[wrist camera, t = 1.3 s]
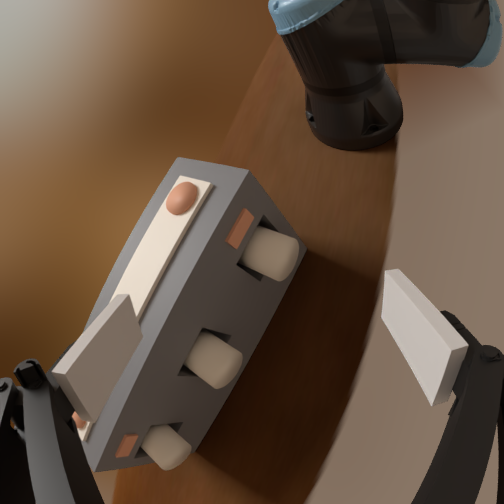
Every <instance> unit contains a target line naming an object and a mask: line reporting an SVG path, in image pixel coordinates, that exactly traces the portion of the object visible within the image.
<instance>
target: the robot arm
mask: <svg viewBox="0 0 504 504" xmlns="http://www.w3.org/2000/svg"><path fill="white" fill-rule="evenodd" d="M268 7H269V11H270V14H271V15H272V18H273V20H274V22H275V24H276V26H277V27H276V29H277V32H278V33H279V34H280V35H281V37H282V39H283V41H284V43H285V45H286V47H287V49H288V51H289V53H290V55H291V57H292V59H293V61H294V63H295V65H296V67H297V69H298V72H299V74H300V76H301V78H302V80H303V82H304V85H305V101H306V118H307V121H308V123H309V126H310V128H311V130H312V132H313V134H314V135H315V136H316V137H317V138H318V139H319V140H320V141H322V142H323V143H325V144H327V145H329V146H331V147H335V148H338V149H344V150H362V149H368V148H372V147H375V146H378V145H380V144H382V143H384V142H386V141H388V140H389V139H391V138H392V137H393V136H394V135H395V134H396V133H397V132H398V130H399V129H400V127H401V125H402V122H403V108H402V102H401V99H400V96H399V94H398V92H397V91H396V89H395V87H394V85H393V84H392V82H391V80H390V78H389V77H388V75H387V73H386V72H385V68H384V64H431V65H432V64H433V65H447V66H455V67H458V68H461V67H463V68H464V67H485V66H488V65H490V64H491V63H492V62H493V61H494V60H495V59H496V57H497V55H498V53H499V50H500V46H501V41H502V24H501V23H500V21H499V18H500V16H501V15H500V10H499V7H498V4H497V2H496V0H270V1H269V6H268ZM381 318H382V320H383V322H384V323H385V325H386V326H387V328H388V330H389V331H390V333H391V335H392V336H393V338H394V340H395V341H396V343H397V345H398V347H399V348H400V350H401V352H402V353H403V355H404V357H405V359H406V360H407V362H408V364H409V366H410V367H411V369H412V371H413V373H414V375H415V376H416V378H417V380H418V382H419V384H420V386H421V387H422V389H423V391H424V393H425V395H426V397H427V399H428V401H429V402H430V404H431V406H434V405H437V404H440V403H443V402H446V401H448V399H449V396H450V394H451V392H452V390H453V392H454V393H455V395H456V399H455V401H454V404H453V405H452V408H451V410H450V412H449V414H448V415H450V416H449V420H448V422H447V425H446V428H445V430H444V433H443V436H442V439H441V441H440V444H439V446H438V449H437V451H436V453H435V456H434V458H433V460H432V463H431V465H430V467H429V469H428V472H427V474H426V476H425V478H424V480H423V482H422V484H421V486H420V488H419V490H418V492H417V494H416V496H415V498H414V499H413V501H412V503H411V504H475V501H476V499H477V496H478V493H479V490H480V487H481V484H482V481H483V477H484V475H485V471H486V468H487V464H488V460H489V457H490V452H491V449H492V444H493V440H494V435H495V430H496V425H497V427H498V446H499V448H498V450H499V469H498V470H499V471H498V491H497V503H496V504H504V355H503V354H502V352H501V351H500V350H499V349H497V348H496V347H493V346H490V345H483V346H482V345H481V344H480V343H479V342H478V341H477V339H476V338H475V337H474V336H473V335H472V334H471V333H470V332H469V331H468V330H467V329H466V328H465V326H464V325H463V324H462V323H461V322H460V321H459V320H458V319H457V318H456V317H455V315H453V314H451V313H449V312H447V311H440V312H439V311H438V309H437V308H436V307H435V306H434V305H433V304H432V303H431V302H430V301H429V300H428V299H427V298H426V297H425V296H424V295H423V293H422V292H421V291H420V290H419V289H418V288H417V287H416V286H415V285H414V284H413V283H412V282H411V281H410V280H409V279H408V278H407V277H406V276H405V275H404V274H403V273H402V272H401V271H400V270H399V269H394V270H385V278H384V292H383V304H382V314H381ZM142 338H143V335H142V332H141V329H140V326H139V323H138V320H137V317H136V314H135V311H134V308H133V304H132V301H131V298H130V295H129V294H117V295H116V296H115V298H114V299H113V300H112V301H111V302H110V303H109V304H108V305H107V306H106V308H105V309H104V310H103V311H102V312H101V313H100V314H99V315H98V317H97V318H96V319H95V320H94V321H93V322H92V323H91V325H90V326H89V327H88V328H87V329H86V330H85V332H84V333H83V334H82V335H81V336H80V337H79V339H78V340H77V341H75V342H74V343H72V344H71V345H69V346H68V347H67V349H66V350H65V351H64V354H62V355H61V356H60V357H59V359H57V361H56V362H55V363H54V364H53V366H52V367H51V368H50V369H49V371H48V372H47V373H46V374H45V373H44V371H43V369H42V368H41V366H40V364H39V362H38V361H37V360H36V359H27V360H25V361H23V362H21V363H20V364H18V365H17V367H16V368H15V370H14V374H15V376H16V377H17V379H18V381H19V382H20V384H21V386H15V384H14V383H13V381H12V380H11V379H10V378H2V379H0V504H104V501H103V499H102V497H101V494H100V492H99V490H98V487H97V485H96V482H95V480H94V477H93V475H92V472H91V470H90V467H89V464H88V461H87V458H86V455H85V452H84V449H83V446H82V443H81V440H80V436H79V433H78V429H77V426H76V422H75V420H74V419H73V417H72V415H73V413H74V412H76V413H77V414H78V416H79V417H80V419H81V420H83V421H87V422H92V423H95V422H96V420H97V419H98V417H99V415H100V413H101V411H102V409H103V407H104V405H105V404H106V402H107V400H108V398H109V396H110V394H111V393H112V391H113V389H114V387H115V385H116V384H117V382H118V380H119V378H120V376H121V375H122V373H123V371H124V369H125V367H126V366H127V364H128V362H129V360H130V359H131V357H132V355H133V354H134V352H135V350H136V348H137V347H138V345H139V343H140V341H141V340H142ZM10 420H11V421H12V422H13V423H14V424H15V427H14V429H13V428H12V427H11V425H10Z"/></svg>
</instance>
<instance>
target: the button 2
mask: <svg viewBox="0 0 504 504" xmlns="http://www.w3.org/2000/svg"><path fill="white" fill-rule="evenodd" d="M298 254H299V244H298V241H297V240H296V239H295V238H292V237H289V236H287V235H284V234H281V233H278V232H275V231H273V230H270V229H267V228H264V227H261V226H258V225H257V227H256V229H255V231H254V233H253V235H252V236H251V238H250V240H249V242H248V244H247V246H246V247H245V249H244V251H243V253H242V255H241V257H240V259H239V260H238V262H237V263H239V264H242V265H244V266H246V267H248V268H250V269H252V270H255V271H257V272H259V273H261V274H263V275H266V276H268V277H270V278H272V279H274V280H276V281H283V280H284V279H286V278H287V277H288V276H289V274H290V273H291V272H292V270H293V268H294V266H295V264H296V261H297V258H298Z"/></svg>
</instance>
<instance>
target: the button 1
mask: <svg viewBox="0 0 504 504" xmlns="http://www.w3.org/2000/svg"><path fill="white" fill-rule="evenodd" d="M140 446H141V448H142V449H143V450H144V451H145V452H146V453H147V454H148V455H149V456H150V457H151V458H152V459H153V460H154V461H155V462H156V463H157V464H158V465H159V466H160V467H161V468H162V469H163V470H171V469H173V468H175V467H177V466H178V465H180V464H181V463H182V462H183V461H184V460H185V459H186V458H187V457H188V455H189V454H190V452H191V449H192V447H191V445H190V444H189V443H188V442H186V441H185V440H184V439H183V438H182V437H181V436H180V435H179V434H177V433H176V432H175V431H174V430H173V429H172V428H171V427H170V426H169V425H168V424H160V425H151V426H150V428H149V430H148V432H147V434H146V435H145V437H144V439H143V441H142V443H141V445H140Z"/></svg>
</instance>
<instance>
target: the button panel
mask: <svg viewBox="0 0 504 504" xmlns="http://www.w3.org/2000/svg"><path fill="white" fill-rule="evenodd" d="M257 225H258V226H261V227H264V228H267V229H270V230H273V231H275V232H278V233H281V234H284V235H287V236H289V237H292V238H295V239H296V240H297V241H298V244H299V254H298V258H297V261H296V264H295V266H294V268H293V270H292V272H291V273H290V274H289V276H288V277H287V278H286V279H284V280H283V281H276V280H274V279H272V278H270V277H268V276H266V275H263V274H261V273H259V272H257V271H255V270H252V269H250V268H248V267H246V266H244V265H242V264H239V263H237V262H238V260H239V259H240V257H241V255H242V253H243V251H244V249H245V247H246V246H247V244H248V242H249V240H250V238H251V236H252V235H253V233H254V231H255V229H256V227H257ZM306 250H307V248H306V246H305V245H304V243H303V242H302V241H301V239H300V238H299V236H298V235H297V234H296V232H295V231H294V230H293V228H292V227H291V225H290V224H289V223H288V221H287V220H286V219H285V217H284V216H283V214H282V213H281V212H280V210H279V209H278V208H277V206H276V205H275V204H274V202H273V201H272V200H271V198H270V197H269V196H268V194H267V193H266V192H265V190H264V189H263V188H262V186H261V185H260V184H259V182H258V181H257V180H256V178H255V177H254V176H253V175H252V173H251V172H250V171H249V170H246V169H241V168H236V167H231V166H226V165H220V164H215V163H210V162H204V161H198V160H192V159H186V158H180V157H178V158H177V159H176V161H175V162H174V164H173V165H172V167H171V168H170V170H169V171H168V173H167V174H166V176H165V177H164V179H163V181H162V182H161V184H160V185H159V187H158V189H157V190H156V192H155V193H154V195H153V197H152V198H151V200H150V202H149V203H148V205H147V207H146V208H145V210H144V212H143V214H142V215H141V217H140V219H139V220H138V222H137V224H136V226H135V227H134V229H133V231H132V233H131V235H130V237H129V238H128V240H127V242H126V244H125V246H124V247H123V249H122V251H121V253H120V255H119V257H118V259H117V261H116V263H115V265H114V267H113V269H112V271H111V273H110V275H109V277H108V279H107V281H106V283H105V285H104V287H103V289H102V291H101V293H100V295H99V298H98V299H97V302H96V304H95V306H94V308H93V311H92V313H91V315H90V317H89V319H88V322H87V324H86V326H85V329H84V331H83V333H84V332H85V330H86V329H87V328H88V327H89V326H90V325H91V323H92V322H93V321H94V320H95V319H96V318H97V317H98V315H99V314H100V313H101V312H102V311H103V310H104V309H105V308H106V306H107V305H108V304H109V303H110V302H111V301H112V300H113V299H114V298H115V296H116V295H117V294H129V295H130V298H131V301H132V304H133V308H134V311H135V314H136V317H137V320H138V323H139V326H140V329H141V332H142V335H143V338H142V340H141V341H140V343H139V345H138V347H137V348H136V350H135V352H134V354H133V355H132V357H131V359H130V360H129V362H128V364H127V366H126V367H125V369H124V371H123V373H122V375H121V376H120V378H119V380H118V382H117V384H116V385H115V387H114V389H113V391H112V393H111V394H110V396H109V398H108V400H107V402H106V404H105V405H104V407H103V409H102V411H101V413H100V415H99V417H98V419H97V420H96V422H95V423H92V422H87V421H83V420H81V419H80V417H79V416H78V414H77V413H76V412H74V413H73V415H72V417H73V419H74V420H75V422H76V426H77V429H78V433H79V436H80V440H81V443H82V446H83V449H84V452H85V455H86V458H87V461H88V464H89V466H90V467H91V468H92V470H93V471H94V472H101V471H108V470H115V469H122V468H128V467H133V466H139V465H144V464H149V463H154V462H155V461H154V460H153V459H152V458H151V457H150V456H149V455H148V454H147V453H146V452H145V451H144V450H143V449H142V448H141V446H140V445H141V443H142V441H143V439H144V437H145V435H146V434H147V432H148V430H149V428H150V426H151V425H160V424H168V425H169V426H170V427H171V428H172V429H173V430H174V431H175V432H176V433H177V434H179V435H180V436H181V437H182V438H183V439H184V440H185V441H186V442H188V443H189V444H190V445H191V447H192V449H191V452H190V453H194V452H195V451H196V449H197V447H198V446H199V444H200V443H201V441H202V439H203V438H204V436H205V435H206V433H207V431H208V430H209V428H210V426H211V425H212V423H213V421H214V420H215V418H216V416H217V415H218V413H219V411H220V410H221V408H222V406H223V404H224V403H225V401H226V399H227V398H228V396H229V394H230V393H231V391H232V389H233V387H234V386H235V384H236V382H237V380H238V379H239V377H240V375H241V373H242V372H243V370H244V368H245V366H246V364H247V363H248V361H249V359H250V357H251V355H252V354H253V352H254V350H255V348H256V346H257V345H258V343H259V341H260V339H261V337H262V335H263V334H264V332H265V330H266V328H267V326H268V324H269V322H270V321H271V319H272V317H273V315H274V313H275V311H276V309H277V307H278V305H279V304H280V302H281V300H282V298H283V296H284V294H285V292H286V290H287V288H288V286H289V284H290V282H291V280H292V278H293V276H294V274H295V272H296V270H297V268H298V266H299V265H300V263H301V261H302V258H303V256H304V254H305V252H306ZM202 327H203V328H204V329H206V330H207V331H209V332H210V333H212V334H213V335H215V336H216V337H218V338H219V339H221V340H222V341H224V342H225V343H227V344H228V345H230V346H231V347H233V348H235V349H236V350H238V351H239V352H241V353H242V356H243V360H242V364H241V367H240V369H239V371H238V373H237V374H236V376H235V377H234V378H233V379H232V380H231V382H229V383H228V384H227V385H226V386H224V387H222V388H220V389H215V388H213V387H212V386H211V385H209V384H208V383H207V382H205V381H204V380H203V379H202V378H200V377H199V376H198V375H196V374H195V373H194V372H193V371H191V370H190V369H189V368H188V367H186V366H185V365H184V364H183V363H184V361H185V359H186V358H187V356H188V354H189V352H190V350H191V348H192V346H193V344H194V342H195V341H196V339H197V337H198V335H199V333H200V331H201V329H202Z"/></svg>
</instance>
